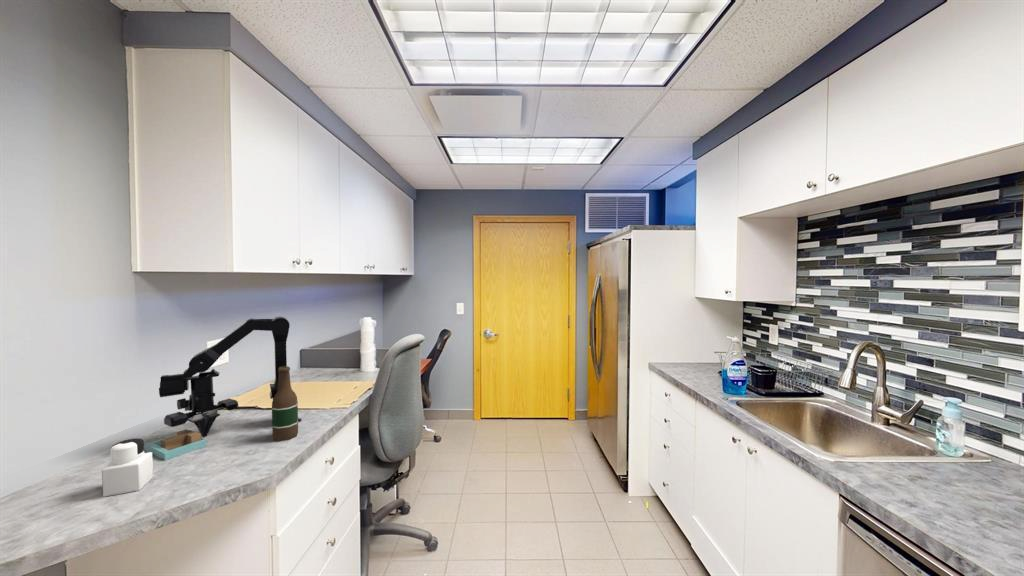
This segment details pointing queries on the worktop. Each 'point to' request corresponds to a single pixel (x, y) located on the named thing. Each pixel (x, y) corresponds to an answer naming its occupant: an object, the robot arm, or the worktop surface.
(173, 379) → the robot arm
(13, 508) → the worktop surface
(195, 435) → the t block
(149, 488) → the worktop surface
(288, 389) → the beer bottle
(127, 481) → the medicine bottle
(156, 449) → the jig
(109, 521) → the worktop surface
